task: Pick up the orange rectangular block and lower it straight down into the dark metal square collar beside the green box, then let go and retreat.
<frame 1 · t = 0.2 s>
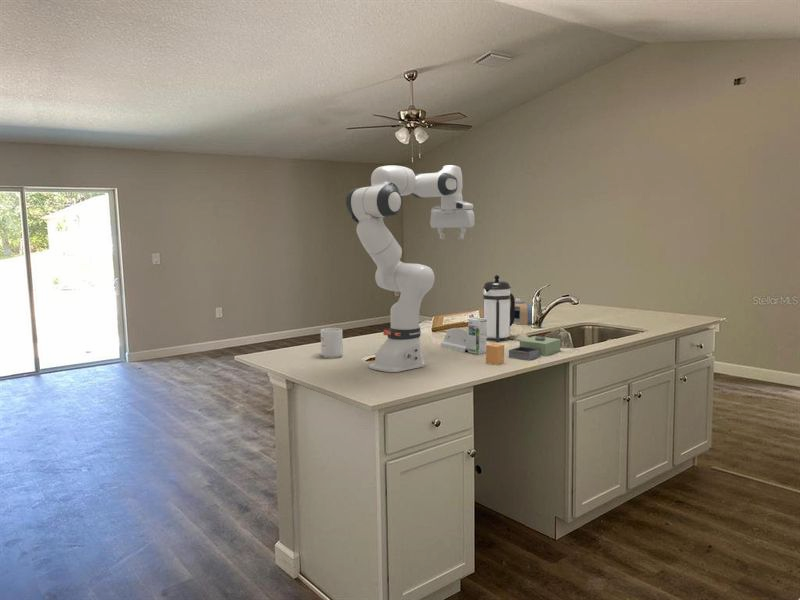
hand: (451, 238, 252), 47 cm above the worktop, fingers open, 8 cm apart
orange rectangular block: (495, 362, 234), on the worktop
syrup box: (477, 352, 254), on the worktop
mug: (330, 356, 251), on the worktop
hinge: (458, 349, 262), on the worktop
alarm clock: (519, 323, 328), on the worktop
green box: (539, 351, 254), on the worktop
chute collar: (524, 356, 244), on the worktop
coffee press: (497, 339, 283), on the worktop
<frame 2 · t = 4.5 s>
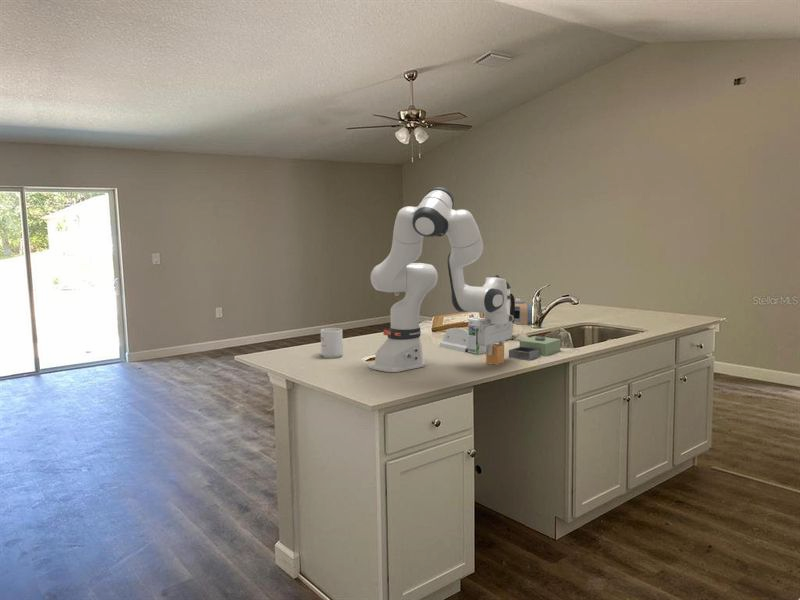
hand: (495, 353, 234), 4 cm above the worktop, fingers closed on orange rectangular block, 5 cm apart
orange rectangular block: (495, 362, 234), on the worktop, touching gripper
everything else where it was.
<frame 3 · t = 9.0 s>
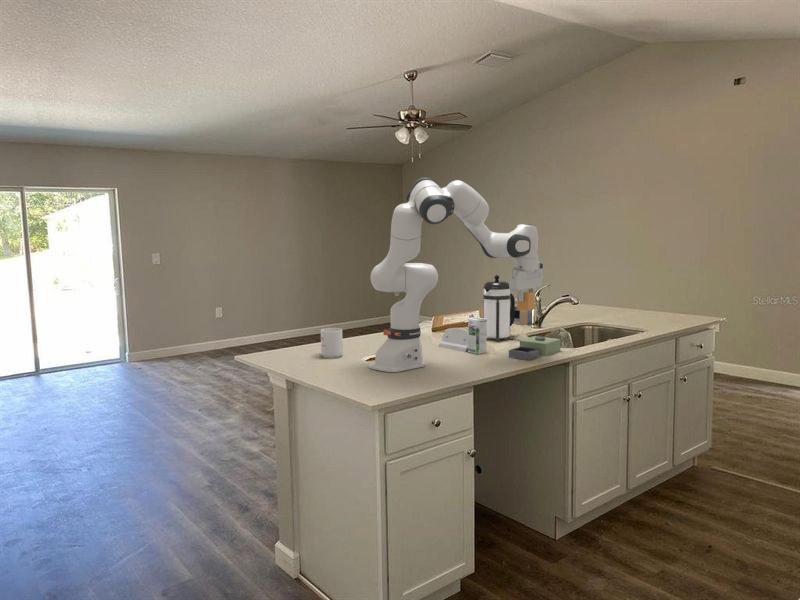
hand: (525, 300, 240), 23 cm above the worktop, fingers closed on orange rectangular block, 5 cm apart
orange rectangular block: (525, 309, 241), point 20 cm above the worktop, touching gripper
everything else where it was.
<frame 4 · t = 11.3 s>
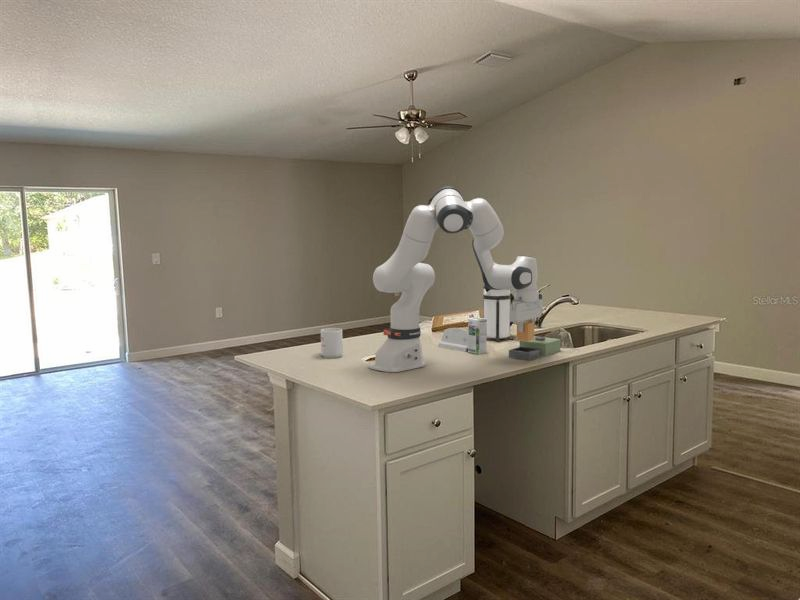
hand: (525, 330, 242), 11 cm above the worktop, fingers closed on orange rectangular block, 5 cm apart
orange rectangular block: (525, 339, 242), point 7 cm above the worktop, touching gripper
everything else where it was.
when the fingers open (5 cm above the worktop, at t = 13.4 s): orange rectangular block drops 1 cm, resting in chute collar.
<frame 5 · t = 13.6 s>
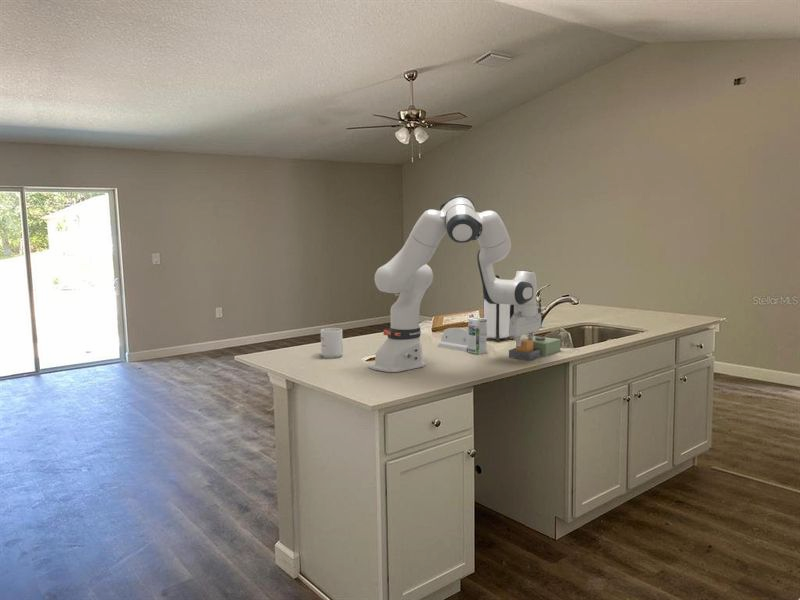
hand: (524, 344, 243), 5 cm above the worktop, fingers open, 7 cm apart
orange rectangular block: (524, 357, 244), resting in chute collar
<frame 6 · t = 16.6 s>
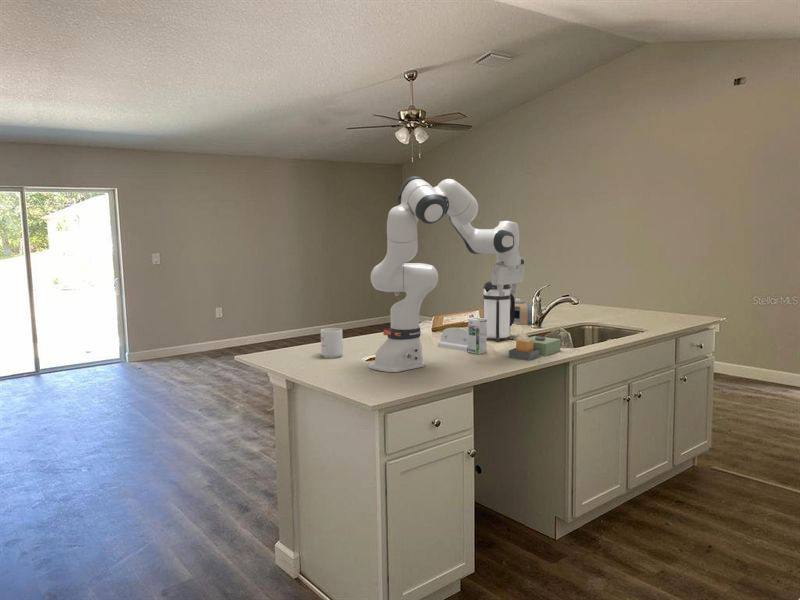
hand: (507, 295, 245), 25 cm above the worktop, fingers open, 8 cm apart
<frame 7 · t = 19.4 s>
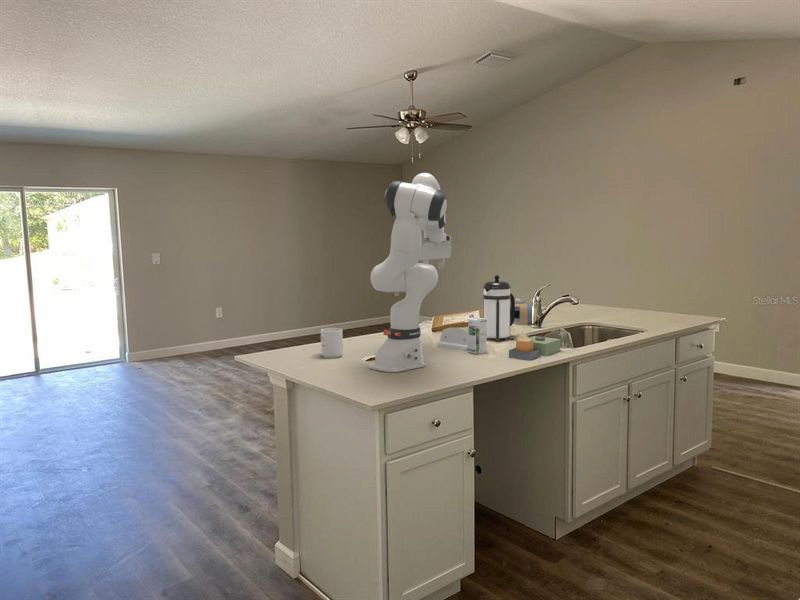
hand: (434, 269, 262), 34 cm above the worktop, fingers open, 8 cm apart
at the end: orange rectangular block 0.1 cm off-centre on the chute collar, point 0.0 cm above the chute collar's base; orange rectangular block tilted 0°; the gripper is holding nothing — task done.
